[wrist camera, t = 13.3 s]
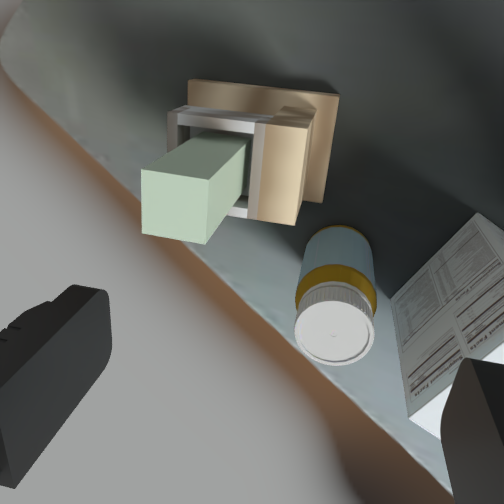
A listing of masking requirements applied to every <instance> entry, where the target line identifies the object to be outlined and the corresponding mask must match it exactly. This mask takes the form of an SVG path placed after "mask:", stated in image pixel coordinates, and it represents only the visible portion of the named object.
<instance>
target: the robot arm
mask: <svg viewBox="0 0 504 504" xmlns="http://www.w3.org/2000/svg"><path fill="white" fill-rule="evenodd" d="M111 334H112V333H111V319H110V307H109V296H108V293H107V292H106V291H105V290H102V289H97V288H91V287H86V286H80V285H71V286H70V287H68V288H67V289H66V290H65V291H64V292H62V293H61V294H60V295H59V296H58V297H57V298H56V299H54V301H52V302H50V301H46V302H44V303H42V304H40V305H38V306H36V307H33V308H31V309H29V310H27V311H25V312H24V313H22V314H21V315H20V316H19V317H17V318H16V319H15V320H14V321H13V322H11V323H10V324H9V325H8V328H7V329H5V328H4V329H3V330H2V331H1V332H0V485H1V486H5V487H9V488H13V489H15V488H16V487H17V485H18V484H19V483H20V481H21V480H22V479H23V477H24V476H25V475H26V473H27V472H28V471H29V469H30V468H31V467H32V465H33V464H34V462H35V461H36V460H37V459H38V457H39V456H40V455H41V453H42V452H43V451H44V449H45V448H46V447H47V445H48V444H49V443H50V441H51V440H52V439H53V437H54V436H55V435H56V433H57V432H58V430H59V429H60V428H61V427H62V425H63V424H64V423H65V421H66V419H67V418H68V417H69V416H70V414H71V413H72V412H73V410H74V409H75V408H76V406H77V405H78V404H79V402H80V401H81V399H82V398H83V397H84V396H85V394H86V393H87V392H88V390H89V389H90V388H91V386H92V385H93V384H94V382H95V381H96V380H97V378H98V377H99V376H100V374H101V373H102V372H103V370H104V369H105V367H106V365H107V363H108V361H109V358H110V355H111V350H112V335H111ZM440 436H441V443H442V448H443V452H444V456H445V461H446V465H447V470H448V474H449V478H450V483H451V487H452V492H453V496H454V500H455V504H504V364H500V363H494V362H489V361H483V360H478V359H472V358H467V357H466V358H464V359H463V360H462V362H461V363H460V366H459V368H458V371H457V374H456V376H455V379H454V382H453V384H452V387H451V390H450V393H449V395H448V398H447V401H446V403H445V406H444V409H443V412H442V416H441V424H440Z"/></svg>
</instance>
